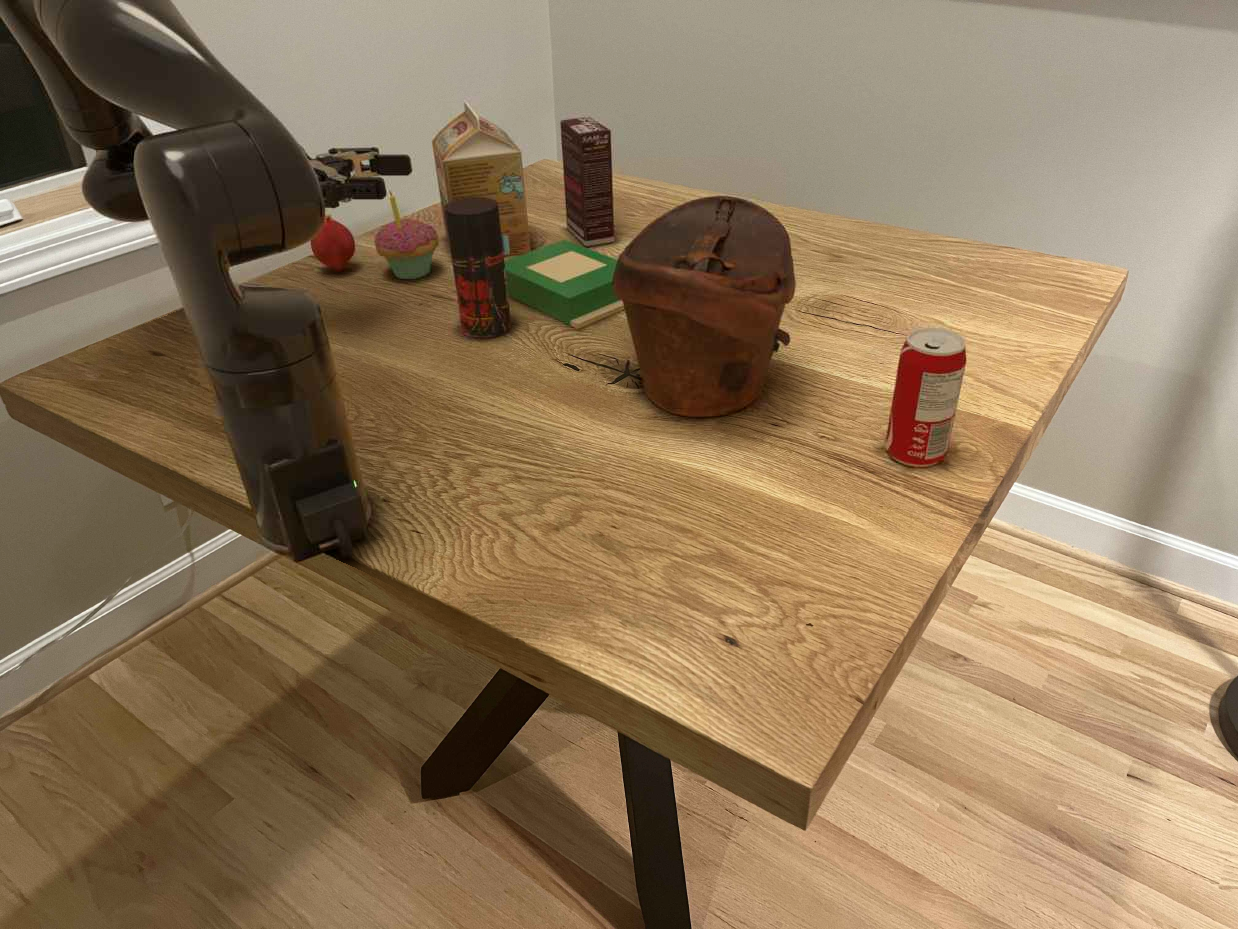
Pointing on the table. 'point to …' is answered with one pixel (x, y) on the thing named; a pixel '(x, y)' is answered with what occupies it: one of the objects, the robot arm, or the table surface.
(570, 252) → the green box
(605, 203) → the supplement box
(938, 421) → the soda can
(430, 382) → the table surface
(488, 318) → the deodorant
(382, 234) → the cupcake
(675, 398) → the case
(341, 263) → the onion
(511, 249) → the milk carton
